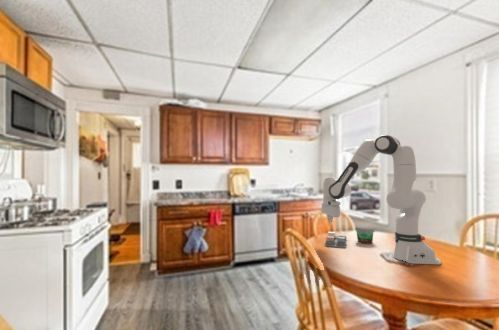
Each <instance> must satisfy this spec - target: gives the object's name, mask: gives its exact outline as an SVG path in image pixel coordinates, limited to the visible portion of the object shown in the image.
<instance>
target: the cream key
mask: <svg viewBox="0 0 499 330" xmlns="http://www.w3.org/2000/svg"><path fill="white" fill-rule="evenodd" d="M327 235H328V236H334V237H335V236H336V232H335V231H328V232H327Z"/></svg>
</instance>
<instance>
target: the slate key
mask: <svg viewBox="0 0 499 330" xmlns="http://www.w3.org/2000/svg"><path fill="white" fill-rule="evenodd" d="M338 242H343V243H345V237H338Z"/></svg>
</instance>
